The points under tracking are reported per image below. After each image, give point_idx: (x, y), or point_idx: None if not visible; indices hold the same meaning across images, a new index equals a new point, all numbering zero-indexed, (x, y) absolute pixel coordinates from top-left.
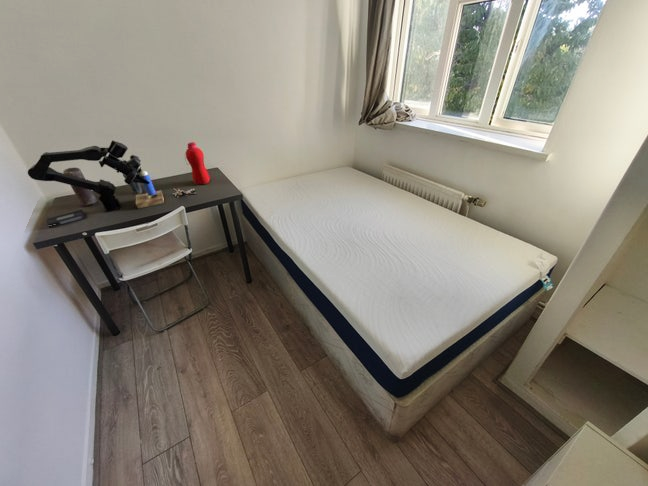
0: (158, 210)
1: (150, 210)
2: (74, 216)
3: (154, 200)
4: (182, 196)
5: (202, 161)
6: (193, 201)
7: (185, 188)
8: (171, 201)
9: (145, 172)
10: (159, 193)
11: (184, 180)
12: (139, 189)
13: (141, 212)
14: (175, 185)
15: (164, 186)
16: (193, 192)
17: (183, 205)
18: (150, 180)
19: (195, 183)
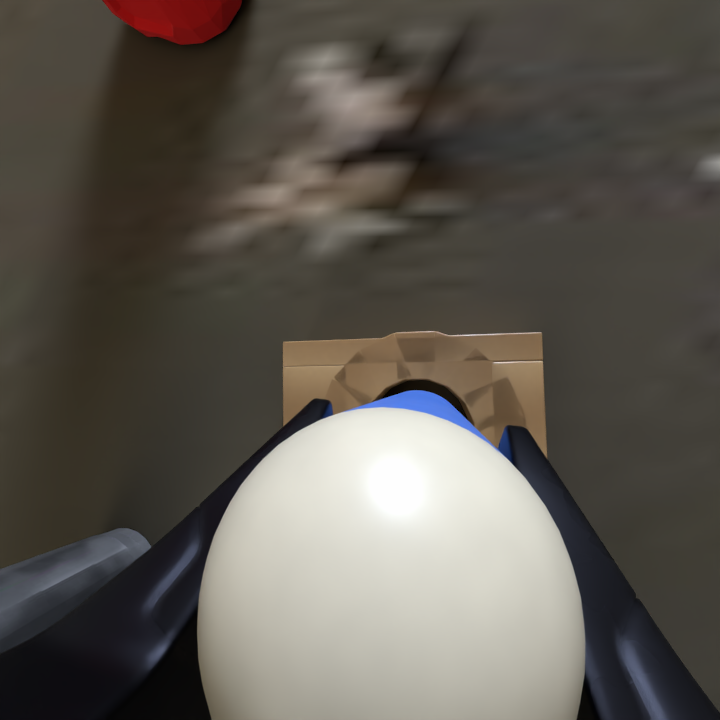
0: (705, 401)
1: (657, 481)
2: None
3: (544, 423)
4: (444, 161)
5: None
6: (645, 45)
7: (257, 138)
8: (520, 267)
9: (494, 525)
10: (371, 360)
11: (67, 153)
12: (122, 561)
13: (663, 574)
14: (138, 231)
15: (110, 329)
16: (397, 57)
17: (704, 144)
18: (434, 402)
19: (219, 25)
